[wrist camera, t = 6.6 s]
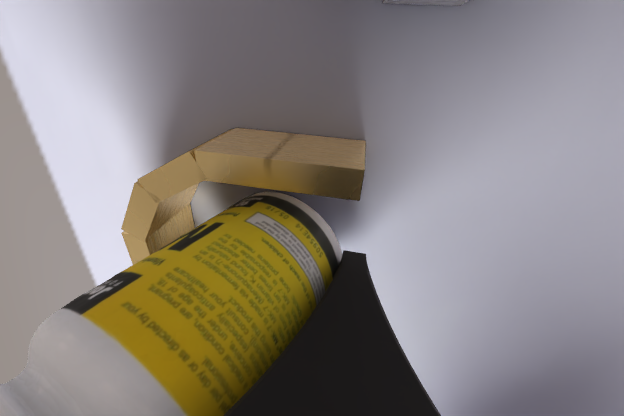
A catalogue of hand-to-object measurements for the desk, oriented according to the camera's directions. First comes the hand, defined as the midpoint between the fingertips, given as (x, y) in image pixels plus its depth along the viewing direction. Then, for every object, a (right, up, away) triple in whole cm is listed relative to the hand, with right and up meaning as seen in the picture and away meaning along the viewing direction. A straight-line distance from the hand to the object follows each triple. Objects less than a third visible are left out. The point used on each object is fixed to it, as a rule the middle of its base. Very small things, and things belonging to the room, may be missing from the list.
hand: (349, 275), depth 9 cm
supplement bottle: (-2, +1, +1) cm, 3 cm away
